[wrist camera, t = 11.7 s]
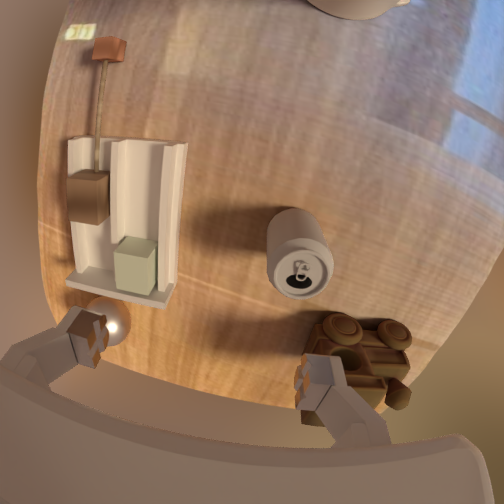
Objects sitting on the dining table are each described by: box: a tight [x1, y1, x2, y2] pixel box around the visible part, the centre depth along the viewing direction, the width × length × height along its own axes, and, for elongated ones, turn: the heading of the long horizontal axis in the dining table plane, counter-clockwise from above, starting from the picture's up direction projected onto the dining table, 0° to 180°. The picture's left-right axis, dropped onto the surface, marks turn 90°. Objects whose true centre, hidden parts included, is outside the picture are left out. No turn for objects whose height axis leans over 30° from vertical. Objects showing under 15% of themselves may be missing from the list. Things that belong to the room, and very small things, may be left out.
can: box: [267, 208, 334, 299], centre depth 36 cm, size 8×8×12 cm
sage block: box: [114, 236, 158, 296], centre depth 40 cm, size 6×5×5 cm
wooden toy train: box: [301, 313, 412, 427], centre depth 43 cm, size 20×11×17 cm, turn 79°
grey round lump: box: [86, 296, 131, 346], centre depth 45 cm, size 9×10×10 cm
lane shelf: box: [65, 135, 188, 310], centre depth 38 cm, size 22×17×7 cm
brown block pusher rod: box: [66, 36, 127, 226], centre depth 32 cm, size 24×5×7 cm, turn 170°
